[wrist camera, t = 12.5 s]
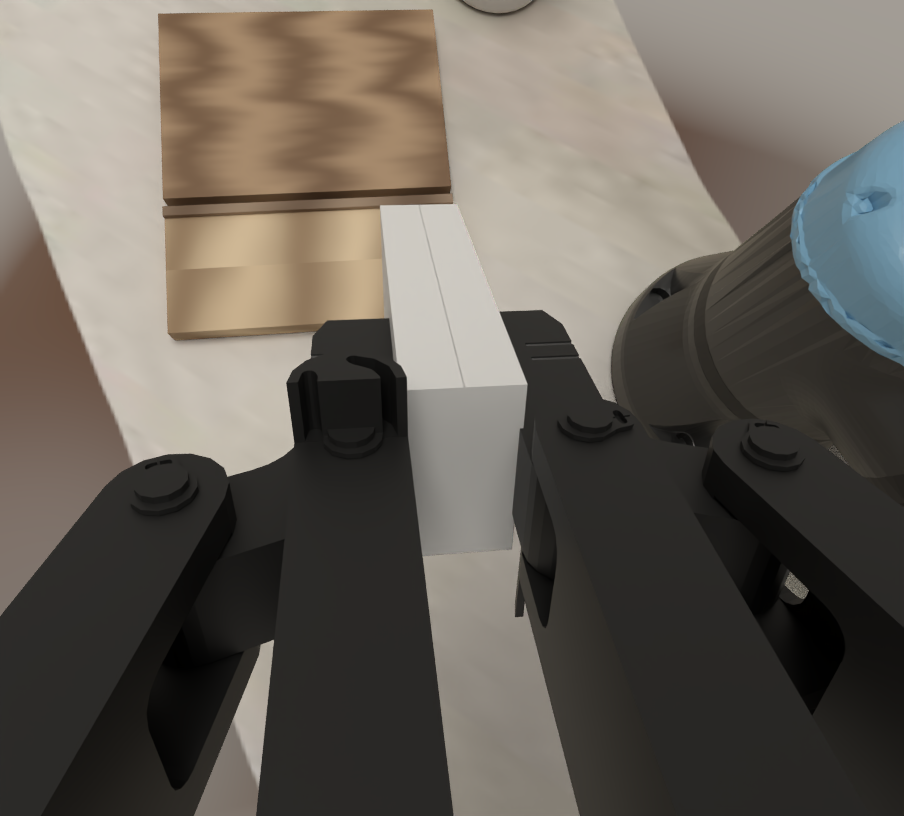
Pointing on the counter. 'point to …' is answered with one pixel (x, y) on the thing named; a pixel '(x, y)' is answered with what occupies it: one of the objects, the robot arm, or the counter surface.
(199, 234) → the laid floorboards
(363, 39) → the board
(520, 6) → the milk bottle
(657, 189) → the counter surface
